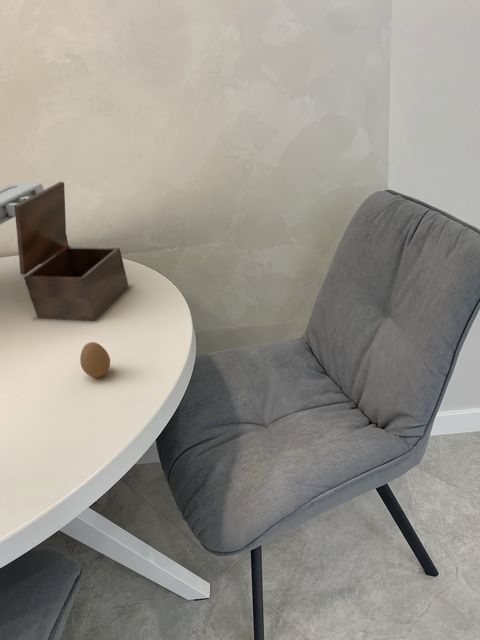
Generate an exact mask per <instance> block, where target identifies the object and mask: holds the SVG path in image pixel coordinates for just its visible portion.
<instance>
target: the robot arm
mask: <svg viewBox="0 0 480 640" xmlns="http://www.w3.org/2000/svg"><path fill="white" fill-rule="evenodd" d="M43 190H45V189H44V186H43V184H42V183H41V182H38V181H31V182H19V183H11V184H8V185H5V186H3V187H1V188H0V225H2V224H4V223H6V222H8V221H10V220H11V219H12V220H13V218H15V207H14V206H15V205H16V204H18V203H20V202H22V201H24V200H26V199H28V198H30V197H32V196H34V195H36V194H38V193H39V192H41V191H43Z"/></svg>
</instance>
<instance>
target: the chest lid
mask: <svg viewBox="0 0 480 640" xmlns="http://www.w3.org/2000/svg"><path fill="white" fill-rule="evenodd" d="M65 195H66V193H65V182H64V181H59V182H57V183H55V184H53V185H51V186H49V187H46V188H45V189H44V190H43V191H41V192H39V193H38V194H36V195H34V196H32V197H30V198H28V199H26V200H24V201H22V202H20V203H18V204H16V205H15V206H14V207H15V217H14V218H15V227H16V239H17V251H18V260H19V270H20V275H22V276H26V275H27V274H28V273H30V272H31V271H33V270H34V269H35V268H37V267H38V266H40V265H41V263H42V262H44V261H45V260H47V259H48V258H49V257H51V256H52V255H54V254H55V253H57V252H58V251H59V250H61V249H62V248H64V247H65V246H66V235H67V222H66V219H67V218H66V196H65Z"/></svg>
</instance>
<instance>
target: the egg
mask: <svg viewBox="0 0 480 640" xmlns="http://www.w3.org/2000/svg"><path fill="white" fill-rule="evenodd" d="M79 359H80V360H79V361H80V366H81V369H82V370H83V372H84V373H85V374H86V375H88V376H89V377H93V378H101V377H103V376H105V375H106V374H107V373H108V372H109V369H110V368H111V367H110V366H111V357H110V354H109V353H108V352H107V350H106V349H105V348H104V346H102V345H101V344H100V343H98V342H94V341H90V342H87V343H86V344H84V346H83V347H82V349H81V353H80V358H79Z"/></svg>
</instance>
